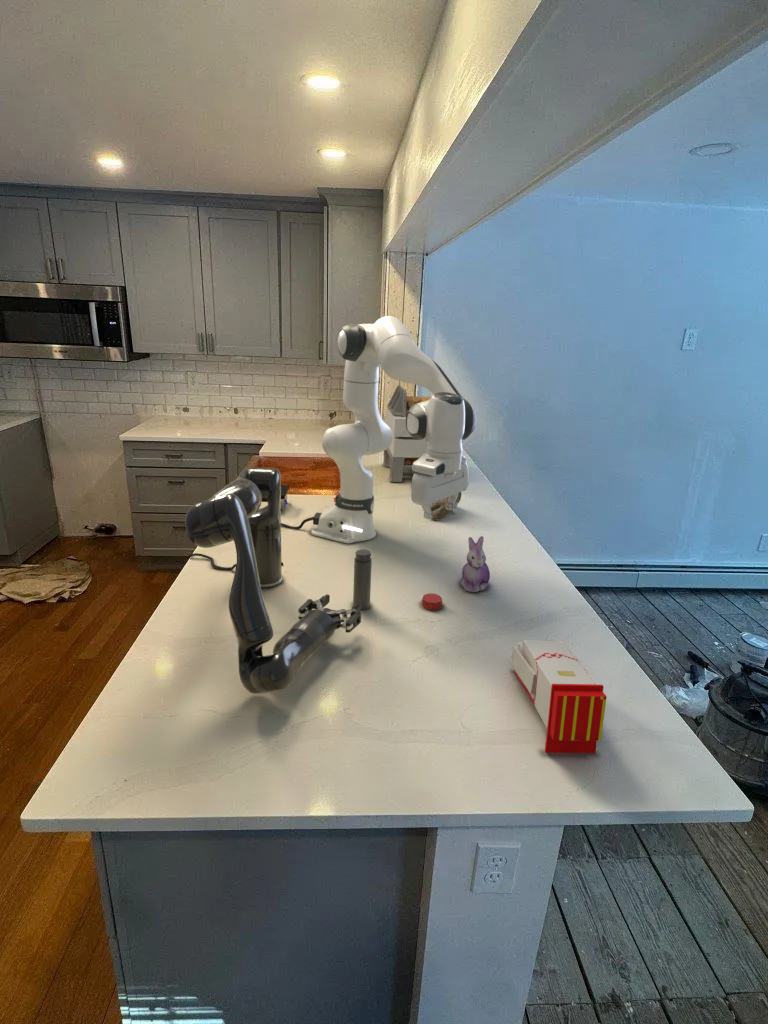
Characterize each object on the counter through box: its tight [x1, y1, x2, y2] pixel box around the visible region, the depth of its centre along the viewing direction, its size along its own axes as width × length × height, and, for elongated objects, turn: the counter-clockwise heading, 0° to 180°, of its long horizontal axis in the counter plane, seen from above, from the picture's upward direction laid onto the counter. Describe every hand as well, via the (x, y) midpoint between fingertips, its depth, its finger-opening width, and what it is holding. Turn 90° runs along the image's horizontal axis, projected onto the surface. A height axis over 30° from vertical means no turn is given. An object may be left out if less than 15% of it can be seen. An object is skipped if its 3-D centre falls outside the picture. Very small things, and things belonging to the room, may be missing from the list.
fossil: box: [430, 492, 462, 521], centre depth 221 cm, size 22×10×15 cm
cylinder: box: [352, 548, 373, 610], centre depth 148 cm, size 4×4×16 cm
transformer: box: [383, 384, 464, 483], centre depth 268 cm, size 34×33×41 cm
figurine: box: [460, 535, 491, 593], centre depth 162 cm, size 9×10×15 cm
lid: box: [421, 592, 443, 611], centre depth 152 cm, size 5×5×2 cm
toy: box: [510, 639, 607, 754], centre depth 114 cm, size 12×13×30 cm
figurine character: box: [281, 484, 290, 512], centre depth 219 cm, size 7×8×15 cm
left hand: (343, 601), depth 139 cm, fingers open, 8 cm apart
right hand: (439, 513), depth 144 cm, fingers open, 8 cm apart
